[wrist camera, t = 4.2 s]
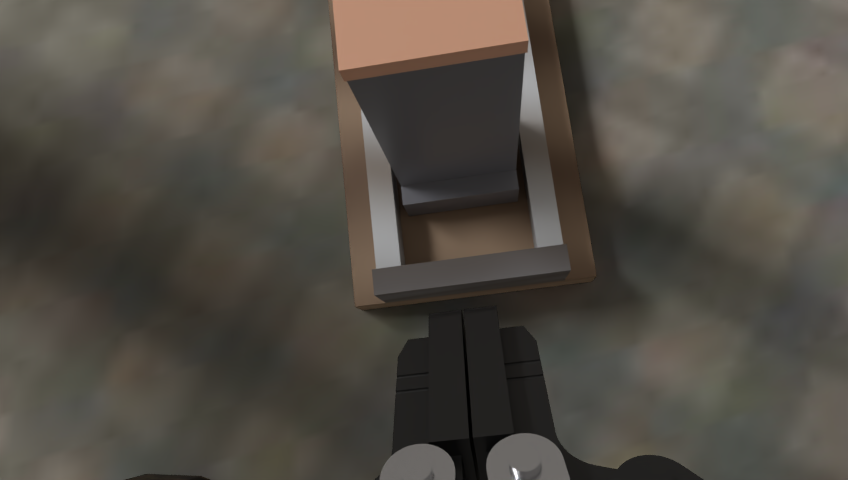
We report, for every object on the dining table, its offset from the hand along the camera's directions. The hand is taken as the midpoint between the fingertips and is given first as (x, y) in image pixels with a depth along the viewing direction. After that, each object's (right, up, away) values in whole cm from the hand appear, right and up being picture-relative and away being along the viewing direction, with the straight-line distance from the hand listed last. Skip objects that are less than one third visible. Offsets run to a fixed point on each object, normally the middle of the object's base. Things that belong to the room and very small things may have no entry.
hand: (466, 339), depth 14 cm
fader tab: (0, +5, +13) cm, 14 cm away
